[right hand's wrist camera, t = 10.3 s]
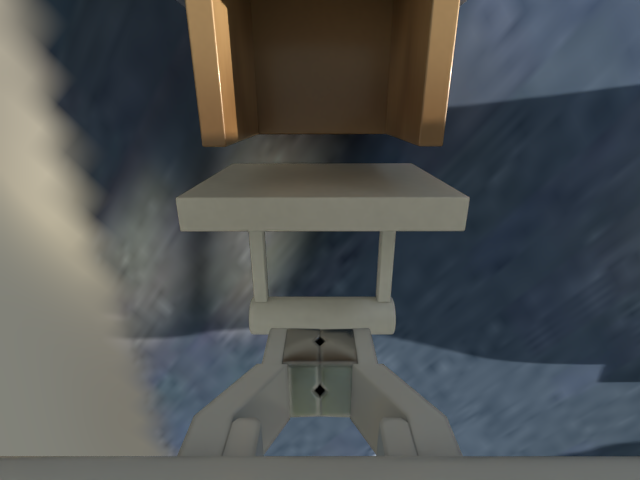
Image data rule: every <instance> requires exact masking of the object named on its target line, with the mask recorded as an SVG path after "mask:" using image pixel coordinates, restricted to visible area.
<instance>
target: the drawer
mask: <svg viewBox="0 0 640 480" xmlns="http://www.w3.org/2000/svg"><path fill="white" fill-rule="evenodd" d="M459 5H460V0H185V6H186V14H187V22H188V31H189V39H190V47H191V56H192V64H193V72H194V81H195V89H196V97H197V106H198V114H199V122H200V130H201V139H202V145H203V147H226V146H229V145H231V144H234V143H237V142H239V141H242V140H244V139H247V138H250V137H252V136H255V135H258V134H387V135H390V136H393V137H396V138H398V139H401V140H404V141H407V142H409V143H412V144H415V145H417V146H442V145H443V139H444V130H445V122H446V114H447V105H448V97H449V88H450V80H451V72H452V63H453V55H454V47H455V38H456V30H457V22H458V13H459ZM469 200H470V198H469V197H468V196H466V195H465V194H463V193H461V192H460V191H458V190H456V189H454V188H453V187H451V186H449V185H448V184H446V183H444V182H443V181H441V180H439V179H437V178H436V177H434V176H432V175H431V174H429V173H427V172H426V171H424V170H422V169H420V168H419V167H417V166H415V165H414V164H412V163H318V164H231V165H230V166H228V167H226V168H225V169H223V170H221V171H220V172H218V173H216V174H215V175H213V176H211V177H210V178H208V179H206V180H205V181H203V182H201V183H200V184H198V185H196V186H195V187H193V188H191V189H190V190H188V191H186V192H185V193H183V194H181V195H180V196H178V197H176V205H177V212H178V218H179V224H180V230H181V231H249V242H250V254H251V267H252V279H253V291H254V297H253V298H252V300H251V303H250V309H249V328H250V332H251V334H269V331H270V329H271V328H287V329H288V328H306V329H353V328H369V329H370V331H371V334H393V333H394V331H395V326H396V312H395V305H394V301H393V299H392V297H391V286H392V273H393V261H394V248H395V236H396V231H465V226H466V220H467V213H468V207H469ZM265 231H380V237H379V253H378V269H377V285H376V297H269V292H268V276H267V260H266V245H265Z"/></svg>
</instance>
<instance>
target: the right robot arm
mask: <svg viewBox="0 0 640 480" xmlns="http://www.w3.org/2000/svg"><path fill="white" fill-rule="evenodd" d="M313 416H326V417H350V419H351V420H352V422H353V423H354V424H355V426H356V427H357V429H358V430H359V431H360V433H361V434H362V436H363V437H364V438H365V440H366V441H367V442H368V444H369V445H370V447H371V448H372V449H373V451H374V452H375V454H376V456H264V454H265V452H266V451H267V450H268V448H269V447H270V446H271V444H272V443H273V441H274V440H275V439H276V437H277V436H278V435H279V433H280V432H281V430H282V429H283V428H284V426H285V425H286V423H287V422H288V421H289V419H290V417H313ZM0 480H640V456H462V453H461V451H460V448H459V446H458V443H457V441H456V439H455V436H454V434H453V431H452V429H451V426H450V424H449V422H448V419H447V417H446V416H445V415H444V414H443V413H442V412H440V411H439V410H438V409H437V408H436V407H434V406H433V405H432V404H431V403H429V402H428V401H427V400H426V399H425V398H423V397H422V396H421V395H420V394H419V393H417V392H416V391H415V390H414V389H413V388H411V387H410V386H409V385H408V384H407V383H405V382H404V381H403V380H402V379H401V378H399V377H398V376H397V375H396V374H395V373H393V372H392V371H391V370H390V369H389V368H387V367H386V366H385V365H384V364H378V361H377V357H376V353H375V348H374V344H373V340H372V335H371V331H370V329H369V328H353V329H306V328H288V329H287V328H271V329H270V331H269V335H268V339H267V344H266V348H265V352H264V357H263V361H262V364H256V365H255V366H254V367H253V368H252V369H250V370H249V371H248V372H247V373H245V374H244V375H243V376H242V377H241V378H239V379H238V380H237V381H236V382H235V383H233V384H232V385H231V386H230V387H228V388H227V389H226V390H225V391H224V392H222V393H221V394H220V395H219V396H218V397H216V398H215V399H214V400H213V401H212V402H210V403H209V404H208V405H207V406H205V407H204V408H203V409H202V410H201V411H199V412H198V413H197V414H196V415H195V416H194V417H193V420H192V422H191V424H190V427H189V429H188V432H187V434H186V436H185V439H184V441H183V444H182V446H181V448H180V451H179V453H178V456H0Z"/></svg>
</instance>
